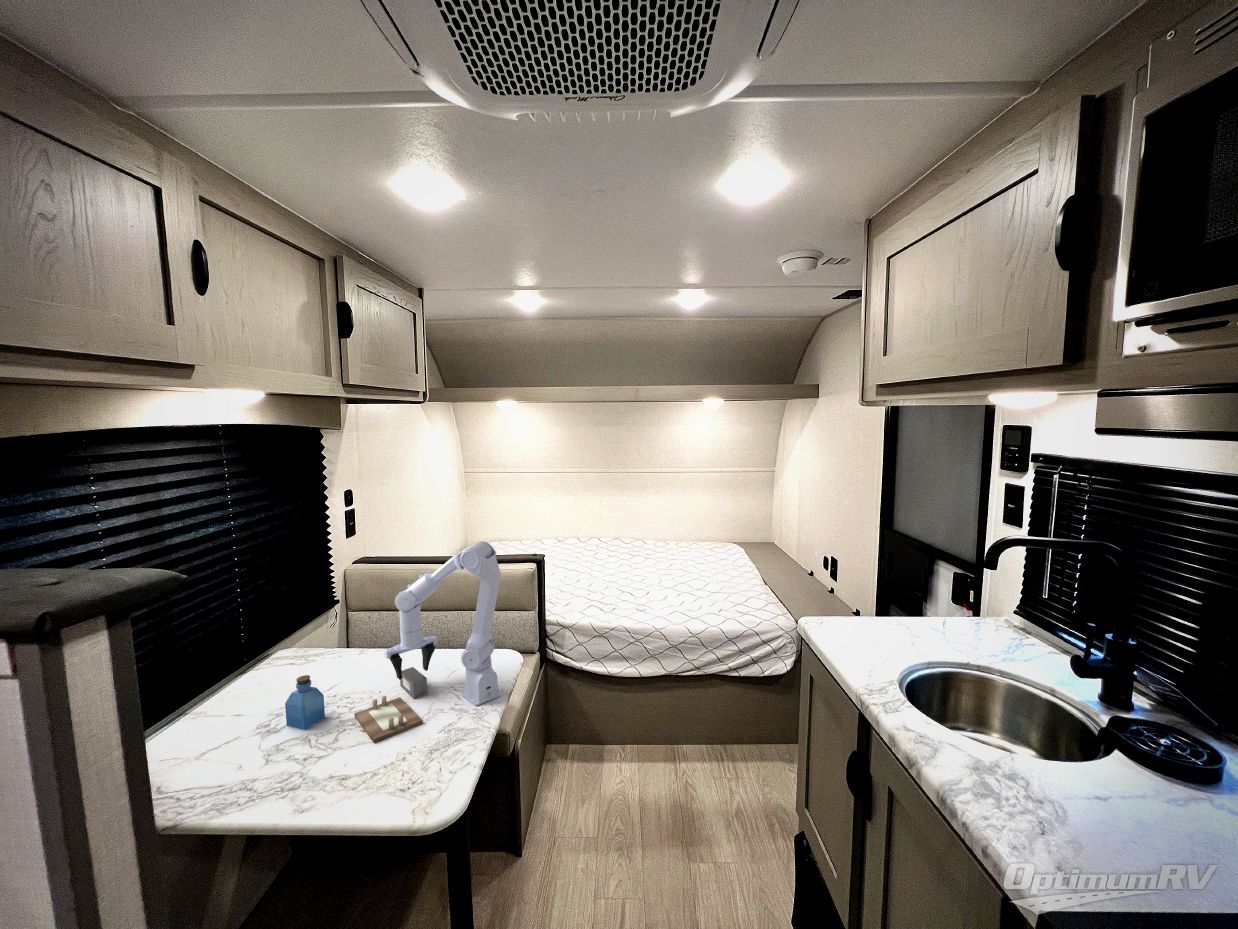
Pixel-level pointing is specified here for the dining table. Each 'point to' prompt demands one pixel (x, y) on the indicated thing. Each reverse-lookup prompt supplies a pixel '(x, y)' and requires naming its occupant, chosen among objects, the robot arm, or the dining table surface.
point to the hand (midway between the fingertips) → (412, 673)
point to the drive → (413, 682)
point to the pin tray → (387, 718)
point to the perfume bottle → (304, 705)
